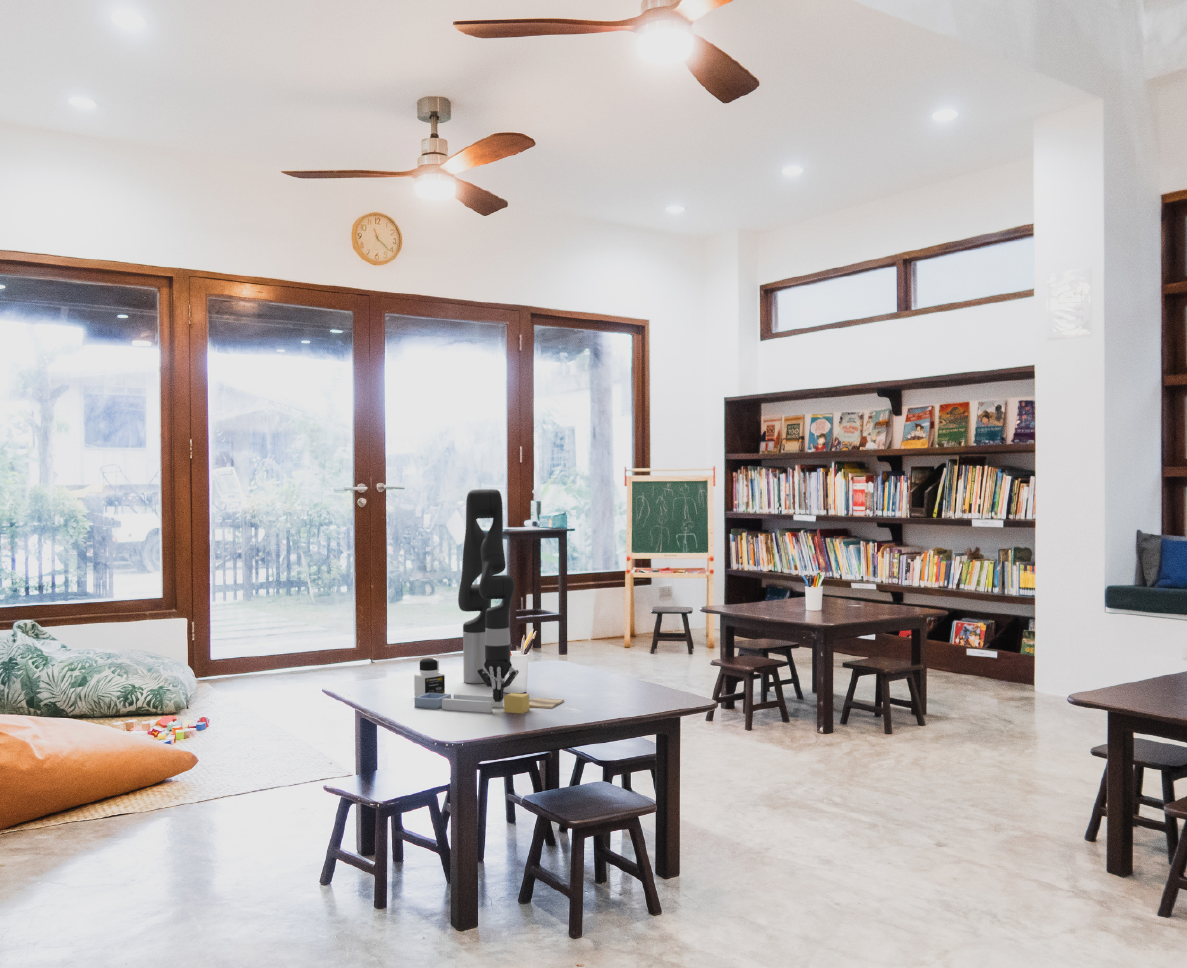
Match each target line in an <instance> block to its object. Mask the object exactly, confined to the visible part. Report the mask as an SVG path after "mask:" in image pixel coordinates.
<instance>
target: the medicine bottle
mask: <svg viewBox="0 0 1187 968" xmlns="http://www.w3.org/2000/svg"><path fill="white" fill-rule="evenodd" d="M439 671H440V660H439V659H438V658H434V657H427V658H422V659H420V661H419V673H415V674H414V676H413V677H414V681H413V682H414V685H413V686H414V687H413V688H414V698H416V697H418V696H421V695H423V694H426V693H440V694H446V690H445V689H446V684H445V682H446V681H445V677H446V675H445V674H444V673H441V672H439Z"/></svg>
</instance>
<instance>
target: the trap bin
mask: <svg viewBox="0 0 1187 968" xmlns="http://www.w3.org/2000/svg"><path fill="white" fill-rule="evenodd" d="M444 698H445V699H452V694H450V693H445V694H440V693H426V694H423V695H421V696H418V697H414V708H421V709H433V710H434V709H435V710H439V709H442V699H444Z"/></svg>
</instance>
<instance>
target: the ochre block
mask: <svg viewBox="0 0 1187 968" xmlns="http://www.w3.org/2000/svg"><path fill="white" fill-rule="evenodd" d="M529 700H530V694H529V693H516V692H510V693H507V694H505V695H504V698H503V711H504V713H512V714H525V713H526V712H527V713H528V712H529V711H530V707H529Z"/></svg>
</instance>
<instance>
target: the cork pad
mask: <svg viewBox="0 0 1187 968" xmlns="http://www.w3.org/2000/svg"><path fill="white" fill-rule="evenodd" d="M563 701H564V702H565V699H560V698H559V699H557V698H556V699H555V698H547V697H545V698H541V697H533V698H531V699H529V708H536V707H538V708H539V709H551V708H552V709H554V708H555V707H557V706H558V705H560V703H561V704H563V703H564V702H563ZM562 702H563V703H562ZM554 706H555V707H554ZM553 707H554V708H553Z"/></svg>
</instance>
